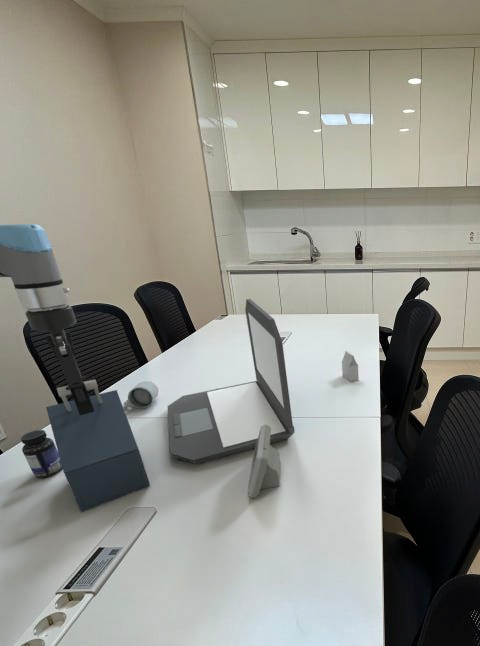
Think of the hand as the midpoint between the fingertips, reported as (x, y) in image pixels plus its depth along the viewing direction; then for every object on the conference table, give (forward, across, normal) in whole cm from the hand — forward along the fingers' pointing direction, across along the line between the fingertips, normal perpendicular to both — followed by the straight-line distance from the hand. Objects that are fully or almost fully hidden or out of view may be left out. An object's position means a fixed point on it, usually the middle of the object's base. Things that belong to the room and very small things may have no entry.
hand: (86, 410), depth 87 cm
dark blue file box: (+19, -1, 0) cm, 19 cm away
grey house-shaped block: (+19, +12, -81) cm, 84 cm away
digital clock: (+19, -24, -29) cm, 42 cm away
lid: (+4, -1, 0) cm, 5 cm away
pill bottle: (+19, +14, +12) cm, 27 cm away
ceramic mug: (+19, +41, -14) cm, 48 cm away
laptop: (+19, +10, -32) cm, 39 cm away
